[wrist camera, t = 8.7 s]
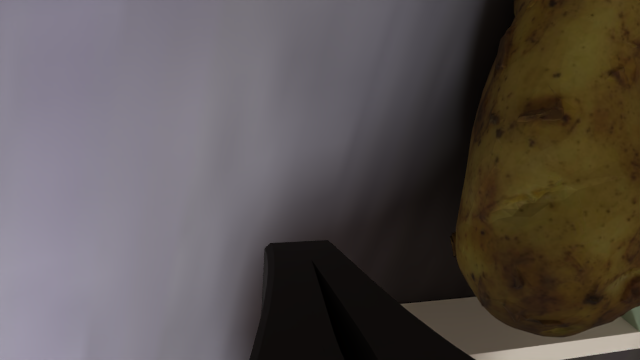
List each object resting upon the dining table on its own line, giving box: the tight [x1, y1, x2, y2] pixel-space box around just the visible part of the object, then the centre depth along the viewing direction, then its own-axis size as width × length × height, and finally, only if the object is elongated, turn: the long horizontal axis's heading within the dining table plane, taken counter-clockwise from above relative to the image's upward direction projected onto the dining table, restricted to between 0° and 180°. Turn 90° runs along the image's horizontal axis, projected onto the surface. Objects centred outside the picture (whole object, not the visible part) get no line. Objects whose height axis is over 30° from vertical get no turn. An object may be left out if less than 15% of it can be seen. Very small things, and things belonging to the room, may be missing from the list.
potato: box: [450, 0, 640, 338], centre depth 14 cm, size 8×13×8 cm, turn 150°
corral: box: [401, 297, 640, 360], centre depth 17 cm, size 19×13×4 cm
